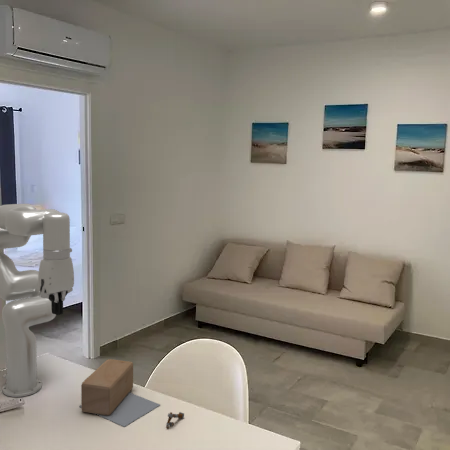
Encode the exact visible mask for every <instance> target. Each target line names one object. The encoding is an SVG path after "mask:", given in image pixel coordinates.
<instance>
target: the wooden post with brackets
mask: <svg viewBox="0 0 450 450" xmlns="http://www.w3.org/2000/svg"><path fill="white" fill-rule="evenodd" d="M167 417H168V418H167V419H168V420H167V422H166V427H165V428H166V429H169V428H170V427H172V426H175V422H173V421H172V419H173V418H174V419H177V418H178V419H180V420H184V419H185V418H184V417H185V412H181V411H179V413H173V412H171V411H170V412H169V413H168V414H167Z"/></svg>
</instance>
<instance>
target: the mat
mask: <svg viewBox="0 0 450 450" xmlns="http://www.w3.org/2000/svg"><path fill="white" fill-rule="evenodd" d="M159 407H161V404H160V403H157V402H155V401H152V400H150V399H148V398H145V397H143V396H141V395H140V396H139V395H137V394H135V393H132V392H131V391H130V392H129V393H128V394H127V395H126V397H125V398H124V399H123V400H122V401H121V402H120V404H119V405H118V406H117V407H116V408H115V410H114V411H113V412H112V413H111V414H110V415H101V414H97V416H98V415H99V416H98V417H101V418H103V419H105V420H108V421H109V420H110V421H109V422H111V421H112V422H111V423H114V424H115V425H118V426H121V427H123V428H126V427H127V426H129V425H131V424H132V423H134V422H135V421H137V420H138V419H140V418H143V416H144V417H145V415H147V414H149V413H150V412H152V411H154V410H155V409H157V408H159ZM79 408H81V405H79ZM93 414H94V415H96V414H95V413H93Z"/></svg>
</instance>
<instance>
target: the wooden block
mask: <svg viewBox="0 0 450 450" xmlns="http://www.w3.org/2000/svg"><path fill="white" fill-rule="evenodd" d="M80 387H81V388H80V389H81V390H80V391H81V393H80V395H81V396H80V397H81V399H80V400H81V405H80V406H81V407H80V408H81V409H80V410H81V411H82V412H83V413H89V414H94V413H95V414H94V415H96V414H101V415H110V414H111V413H112V412H113V411H114V410H115V408H116V407H117V406H118V405H119V404H120V402H121V401H122V400H123V399H124V398H125V397H126V395H127V394H128V393H129V392H130V393H131V391H132V389H134V363H133V361H129V360H128V361H127V360H120V359H113V358H112V359H111V358H109V359H106V360H105V361H104V362H103V363H101V365H100V366H98V368H96V369H95V370H94V371H93V372H92V373H91V374H90V375H89V376H88V377H86V379H84V381H82V382H81V386H80Z"/></svg>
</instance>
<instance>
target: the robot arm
mask: <svg viewBox="0 0 450 450" xmlns="http://www.w3.org/2000/svg"><path fill="white" fill-rule="evenodd" d="M70 221H71V219H70V216H69V214H68V213H66V212H60V211H59V210H58V209H52V208H48V209H46V208H45V209H37V208H36V206H34V205H33V204H31V203H12V204H11V203H10V204H1V205H0V250H7V249H15V248H16V249H17V248H21V247H23V246H26V245H27V244H28V242H29V240H30V239H31V236H37V235H42V240H43V242H42V248H43V249H42V251H43V252H42V253H43V256H42V259H41V260H40V262H39V268H38V270H35V269H28V270H22V271H21V270H18V269H17V267H16V264H15V263H14V261H13V260H12V258H11V257H9V256H8V255H7V254H5V253H4V252H1V251H0V299H1V300H2V301H5V302H8V303H5V305H4V306H3V307H2V310H1V318H2V323H3V326H4V333H5V335H4V336H5V348H6V350H5V351H6V354H5V355H6V373H4V374H3V379H5V380H6V383H5V384H3V386H2V393H3V394H4V395H5V396H7V397H13V398H22V397H27V396H31V395H34V394H36V393H37V392H39V391H40V390H41V389H42V387H43V383H42V381H41V380H40V379H38V362H37V337H36V335H35V334H34V332H33V331H31V330H30V327H32V326H35V325H40V324H43V323H49V322H50V321H52V320H54V319H55V318H56V316H60V315H63V314H64V301H65V300H66V297H67V295H68V294H69V293H71V292H72V291H73V290H74V289H73V288H74V286H75V273H74V264H73V259H72V257H71V253H72V252H73V248H71V233H70V232H71V230H70V229H71V227H70V225H71V224H70V223H71V222H70Z"/></svg>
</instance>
